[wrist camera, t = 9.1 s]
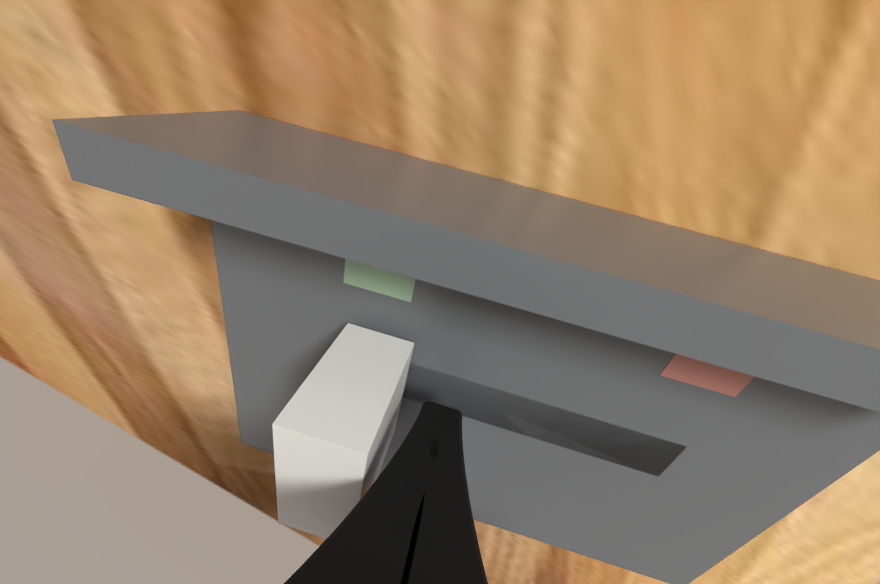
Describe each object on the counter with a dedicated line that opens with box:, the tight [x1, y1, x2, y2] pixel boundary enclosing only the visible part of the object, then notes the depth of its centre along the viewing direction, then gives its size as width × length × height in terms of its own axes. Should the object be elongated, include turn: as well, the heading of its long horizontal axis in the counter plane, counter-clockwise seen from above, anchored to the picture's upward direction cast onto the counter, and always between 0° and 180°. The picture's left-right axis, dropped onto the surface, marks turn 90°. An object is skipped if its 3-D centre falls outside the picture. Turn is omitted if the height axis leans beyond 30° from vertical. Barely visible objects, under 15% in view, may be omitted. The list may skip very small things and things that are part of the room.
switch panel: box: [52, 110, 880, 584], centre depth 10 cm, size 13×19×4 cm
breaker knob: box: [272, 323, 414, 539], centre depth 9 cm, size 4×2×4 cm, turn 168°
